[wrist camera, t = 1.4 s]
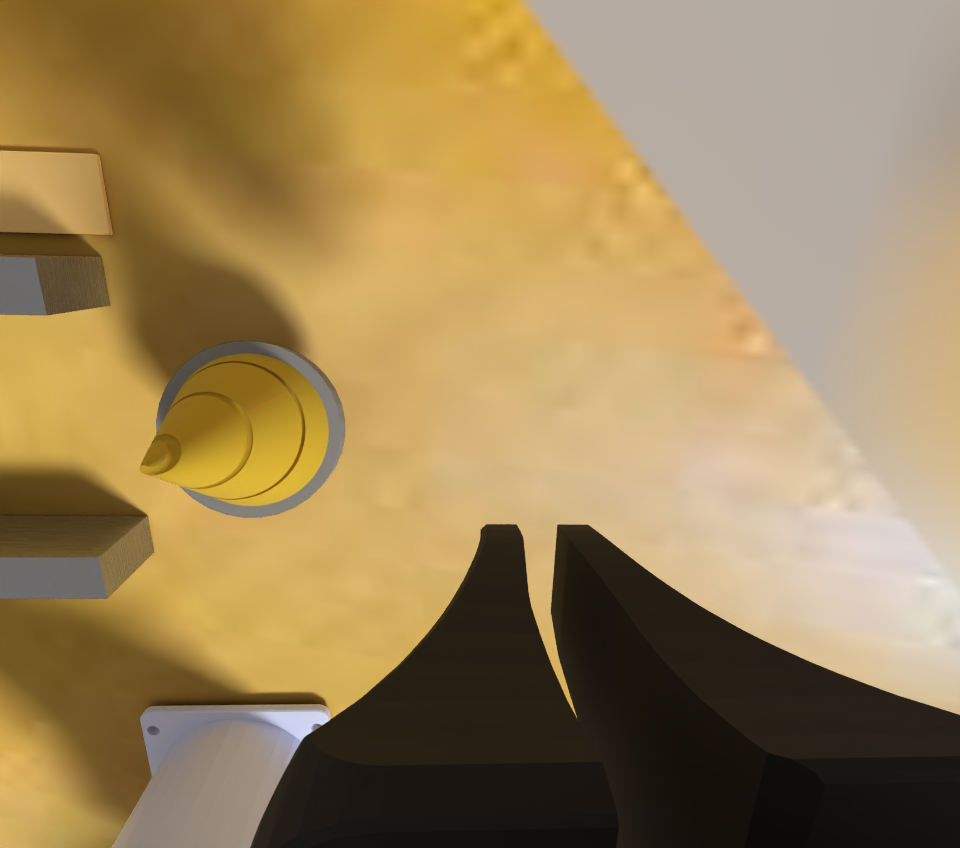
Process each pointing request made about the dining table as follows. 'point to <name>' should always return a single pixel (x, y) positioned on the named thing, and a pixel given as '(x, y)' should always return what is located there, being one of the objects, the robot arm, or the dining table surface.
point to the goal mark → (53, 193)
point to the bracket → (63, 539)
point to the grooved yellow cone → (247, 429)
